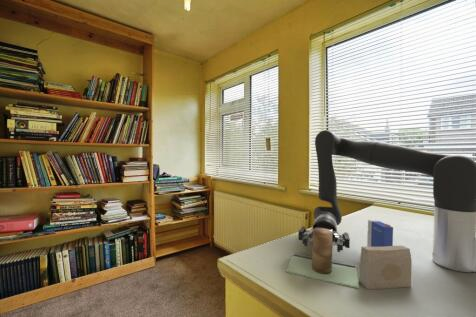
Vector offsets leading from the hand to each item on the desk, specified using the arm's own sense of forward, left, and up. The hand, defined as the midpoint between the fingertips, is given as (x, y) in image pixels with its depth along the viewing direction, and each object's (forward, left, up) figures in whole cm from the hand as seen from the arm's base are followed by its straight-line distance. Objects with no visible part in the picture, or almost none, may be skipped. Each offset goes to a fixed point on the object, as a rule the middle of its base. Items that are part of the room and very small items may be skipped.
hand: (321, 245), depth 62 cm
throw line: (0, -9, -8) cm, 12 cm away
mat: (0, -2, -8) cm, 8 cm away
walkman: (-16, -17, -8) cm, 25 cm away
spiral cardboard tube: (0, -2, -8) cm, 8 cm away
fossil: (-15, -2, -8) cm, 17 cm away
